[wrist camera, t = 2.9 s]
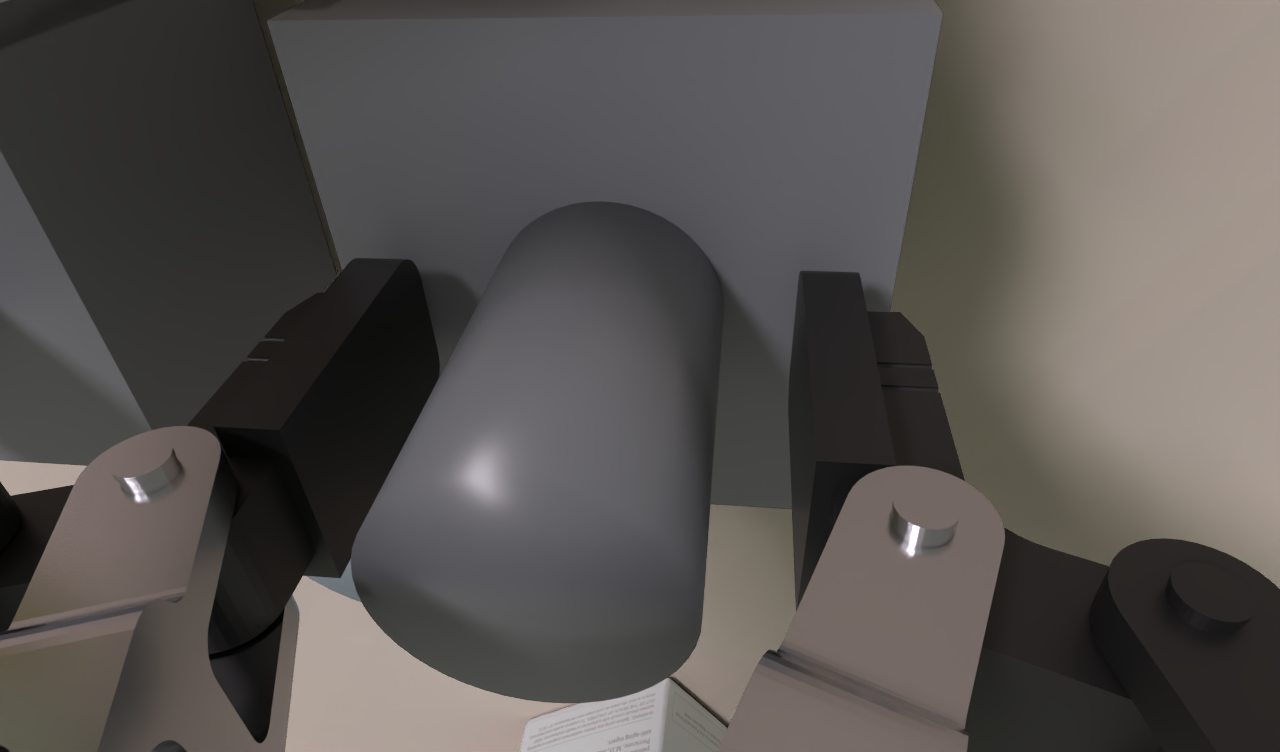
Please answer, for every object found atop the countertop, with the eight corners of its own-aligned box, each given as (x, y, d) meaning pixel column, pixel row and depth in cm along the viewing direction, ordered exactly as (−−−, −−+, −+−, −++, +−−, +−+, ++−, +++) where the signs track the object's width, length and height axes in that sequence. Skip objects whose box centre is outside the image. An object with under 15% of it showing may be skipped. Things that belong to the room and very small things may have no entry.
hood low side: (451, -76, 15) (-99, 209, 5) (871, -86, 14) (1102, 232, 4) (508, 280, 19) (266, 770, 10) (826, 289, 18) (893, 838, 9)
